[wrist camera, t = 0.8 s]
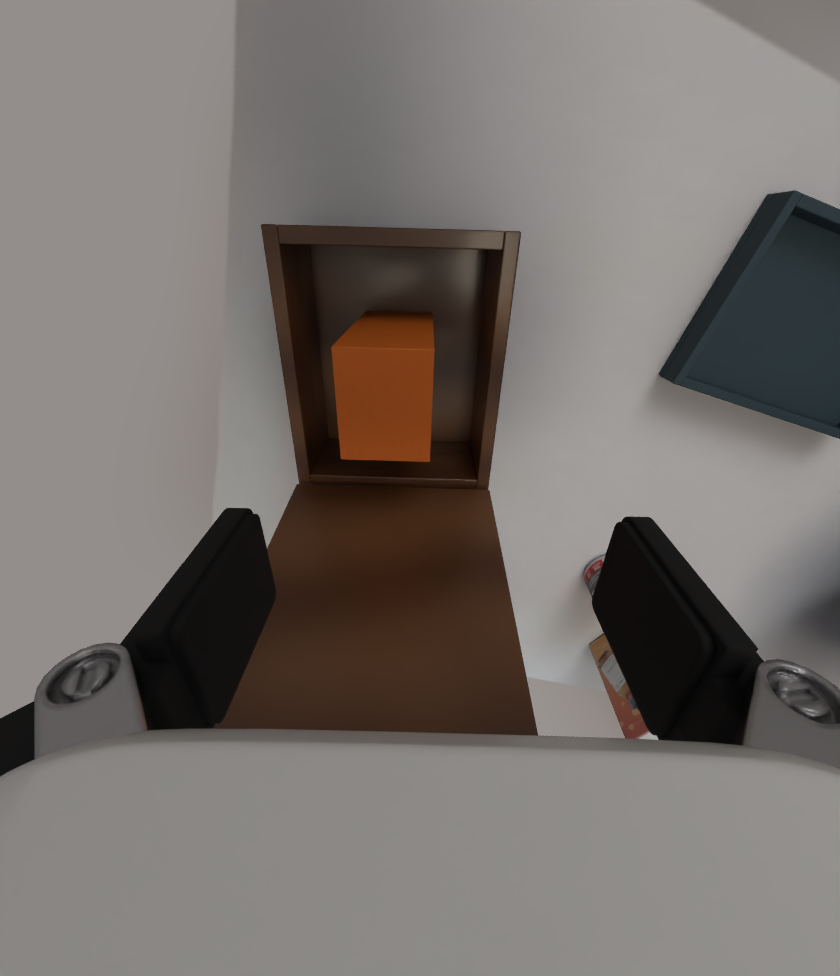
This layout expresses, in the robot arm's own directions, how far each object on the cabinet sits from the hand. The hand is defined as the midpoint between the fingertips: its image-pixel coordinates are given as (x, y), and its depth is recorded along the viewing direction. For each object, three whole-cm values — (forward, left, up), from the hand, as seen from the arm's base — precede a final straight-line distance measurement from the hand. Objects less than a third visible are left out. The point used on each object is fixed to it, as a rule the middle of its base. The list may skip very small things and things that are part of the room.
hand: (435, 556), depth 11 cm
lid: (+5, -6, -7) cm, 10 cm away
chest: (-2, -2, -22) cm, 22 cm away
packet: (-2, -2, -21) cm, 21 cm away
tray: (+12, +22, -22) cm, 33 cm away
